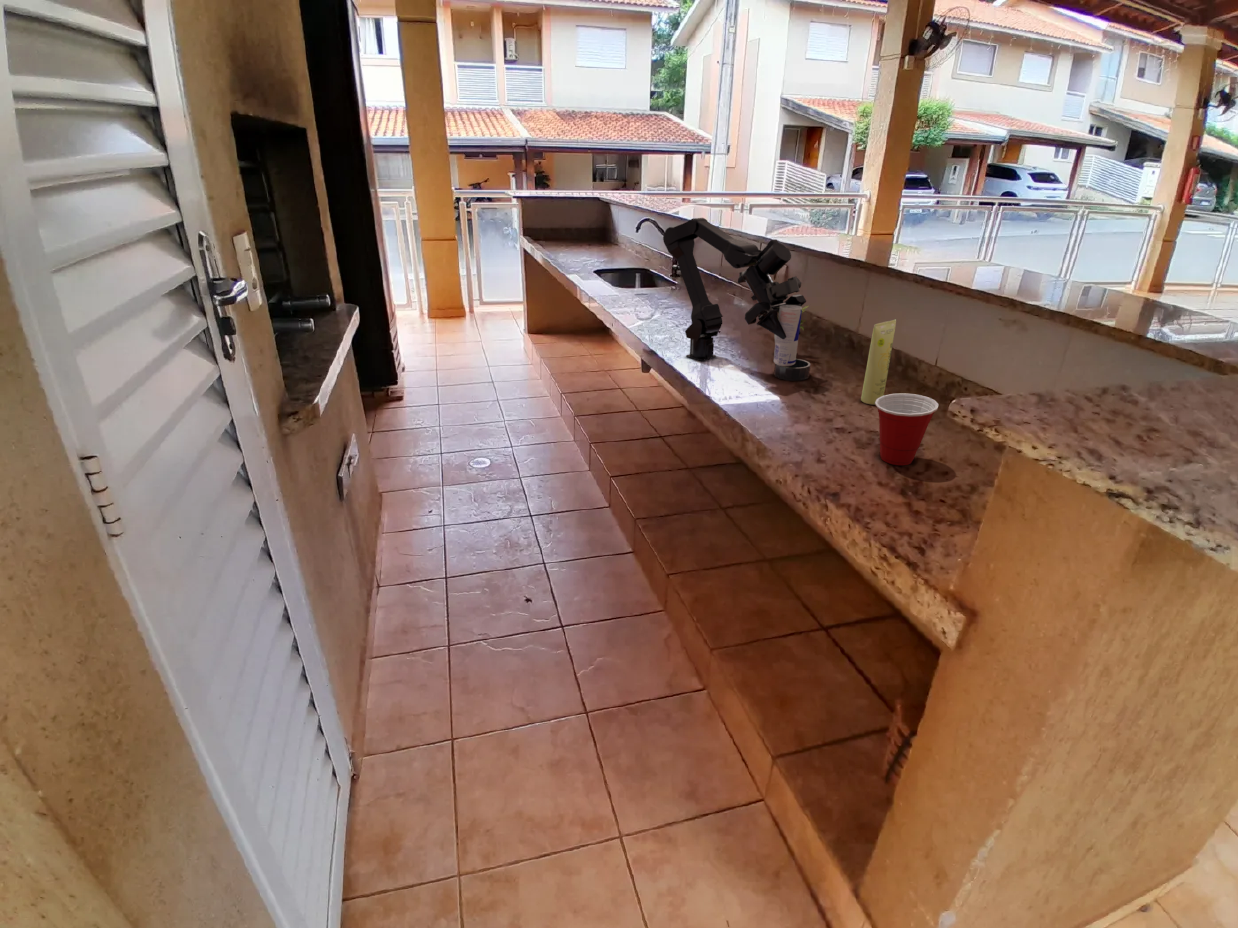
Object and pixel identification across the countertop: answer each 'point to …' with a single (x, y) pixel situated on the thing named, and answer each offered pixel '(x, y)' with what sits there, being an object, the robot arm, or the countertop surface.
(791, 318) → the beverage can
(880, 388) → the tube
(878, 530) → the countertop surface
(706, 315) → the robot arm
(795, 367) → the can holder
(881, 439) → the plastic cup
